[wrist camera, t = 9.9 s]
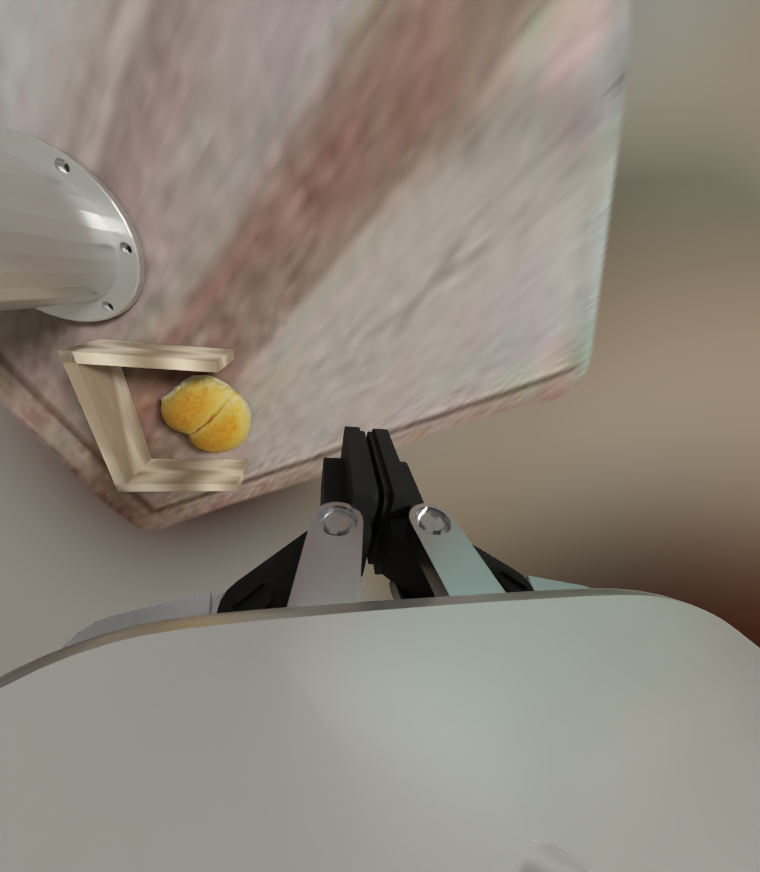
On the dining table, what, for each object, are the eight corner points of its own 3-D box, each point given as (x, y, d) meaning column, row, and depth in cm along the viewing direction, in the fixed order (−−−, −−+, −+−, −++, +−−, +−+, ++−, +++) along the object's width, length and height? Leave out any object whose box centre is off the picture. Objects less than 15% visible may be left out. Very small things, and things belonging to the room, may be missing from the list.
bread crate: (144, 465, 34) (118, 491, 30) (100, 339, 27) (57, 350, 23) (248, 465, 37) (237, 490, 32) (233, 349, 29) (216, 361, 25)
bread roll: (220, 454, 35) (207, 473, 32) (156, 401, 31) (133, 416, 28) (270, 420, 34) (263, 436, 31) (211, 359, 30) (195, 370, 26)
